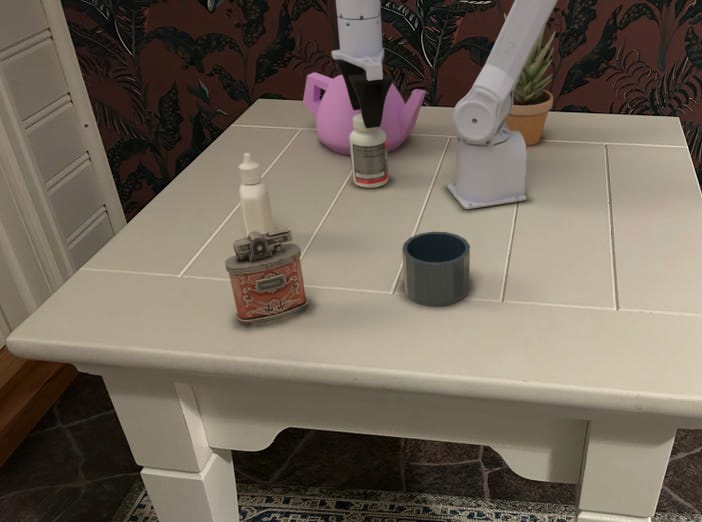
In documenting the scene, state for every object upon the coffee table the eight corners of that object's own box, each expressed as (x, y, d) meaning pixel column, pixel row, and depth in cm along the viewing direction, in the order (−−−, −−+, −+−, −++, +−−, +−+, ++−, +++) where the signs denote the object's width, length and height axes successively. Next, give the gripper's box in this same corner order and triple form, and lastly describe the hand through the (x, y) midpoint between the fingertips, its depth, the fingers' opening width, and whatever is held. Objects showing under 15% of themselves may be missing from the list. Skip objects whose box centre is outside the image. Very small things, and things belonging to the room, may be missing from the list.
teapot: (284, 148, 121) (273, 73, 113) (330, 118, 132) (323, 47, 125) (405, 168, 114) (402, 90, 107) (443, 134, 125) (442, 61, 118)
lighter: (242, 331, 80) (224, 250, 73) (234, 315, 82) (216, 235, 76) (312, 311, 83) (301, 232, 76) (303, 297, 85) (291, 219, 79)
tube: (456, 267, 90) (456, 227, 87) (478, 299, 84) (479, 257, 81) (397, 278, 88) (394, 237, 85) (415, 311, 82) (413, 269, 79)
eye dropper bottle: (235, 249, 94) (217, 160, 87) (260, 230, 98) (245, 143, 91) (264, 256, 93) (248, 165, 85) (288, 236, 97) (275, 148, 89)
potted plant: (495, 127, 128) (501, -30, 113) (550, 130, 127) (563, -29, 112) (490, 149, 120) (495, -17, 105) (548, 152, 119) (562, -15, 104)
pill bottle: (395, 183, 110) (392, 118, 104) (363, 192, 107) (358, 126, 101) (378, 171, 113) (373, 108, 107) (346, 179, 111) (340, 115, 105)
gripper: (318, 5, 100) (328, 104, 109) (340, 30, 90) (350, 138, 98) (368, 1, 102) (374, 99, 111) (396, 25, 91) (400, 132, 100)
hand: (366, 117), depth 104 cm, fingers open, 7 cm apart
